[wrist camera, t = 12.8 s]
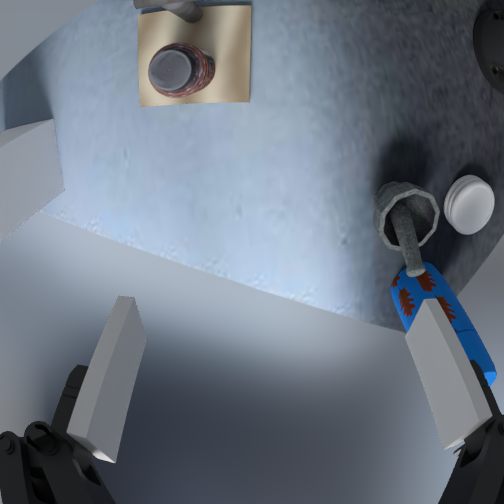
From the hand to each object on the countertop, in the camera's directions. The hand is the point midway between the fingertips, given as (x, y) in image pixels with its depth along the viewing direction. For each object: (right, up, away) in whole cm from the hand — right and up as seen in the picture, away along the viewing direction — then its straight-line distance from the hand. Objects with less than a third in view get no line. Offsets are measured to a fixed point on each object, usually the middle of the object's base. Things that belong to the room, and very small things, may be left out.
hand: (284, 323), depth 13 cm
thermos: (+30, -3, +39) cm, 49 cm away
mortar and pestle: (+20, +11, +30) cm, 38 cm away
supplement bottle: (-9, +25, +19) cm, 33 cm away
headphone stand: (-9, +28, +18) cm, 34 cm away
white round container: (+35, +12, +29) cm, 47 cm away
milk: (-37, +18, +25) cm, 48 cm away
